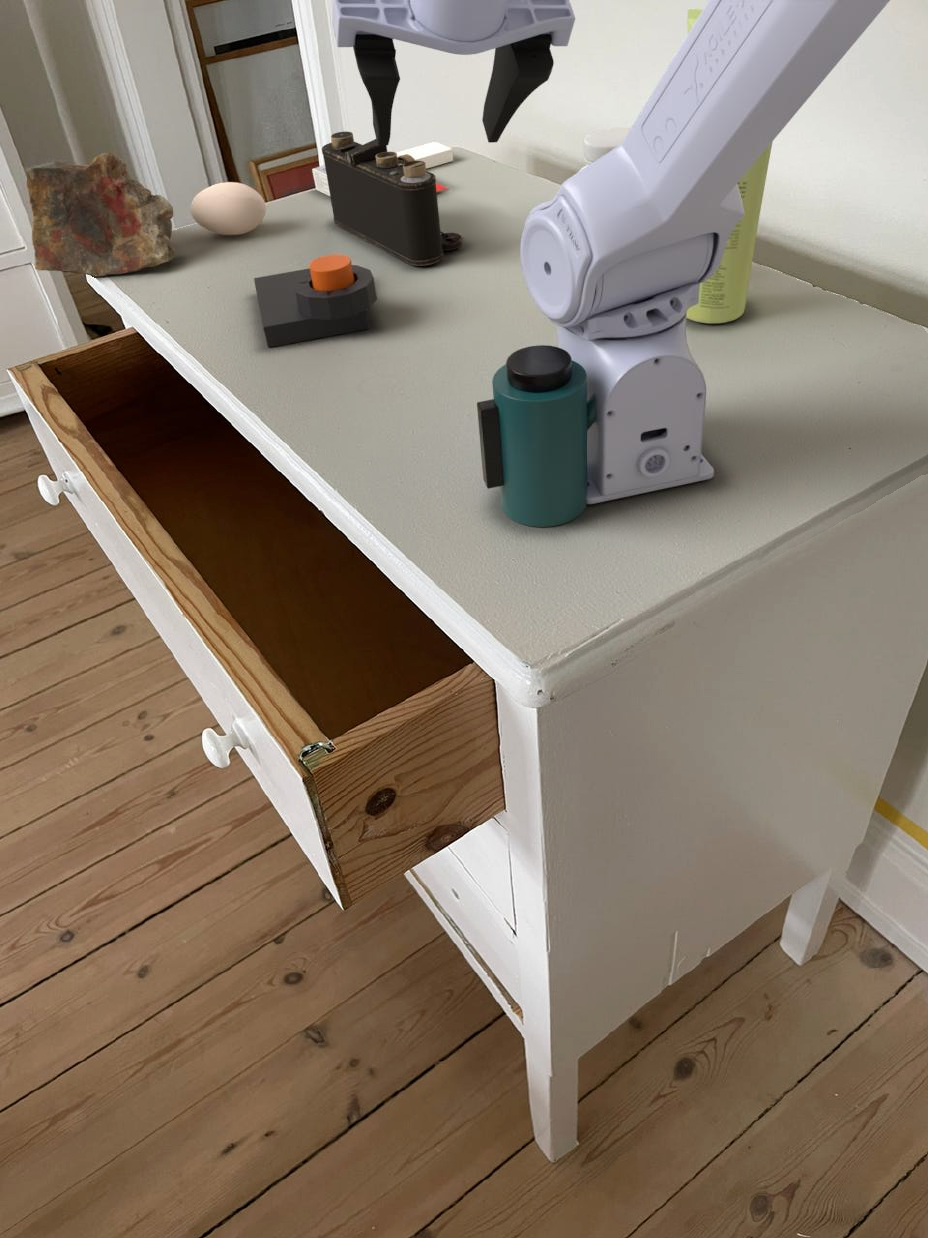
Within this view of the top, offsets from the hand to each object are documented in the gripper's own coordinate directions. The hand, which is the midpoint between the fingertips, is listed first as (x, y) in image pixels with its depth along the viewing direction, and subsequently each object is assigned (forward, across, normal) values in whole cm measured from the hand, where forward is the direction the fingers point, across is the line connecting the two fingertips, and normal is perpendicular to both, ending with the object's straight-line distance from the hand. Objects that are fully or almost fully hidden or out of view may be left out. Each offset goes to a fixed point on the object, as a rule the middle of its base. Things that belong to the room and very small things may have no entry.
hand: (436, 132), depth 66 cm
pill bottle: (+11, -15, +5) cm, 20 cm away
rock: (+29, +21, -17) cm, 40 cm away
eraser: (+32, -10, -30) cm, 46 cm away
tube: (+7, -20, +12) cm, 24 cm away
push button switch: (+16, +8, +1) cm, 19 cm away
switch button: (+12, +7, +2) cm, 14 cm away
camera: (+22, -2, -11) cm, 24 cm away
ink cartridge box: (+27, +2, -21) cm, 35 cm away
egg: (+24, +10, -17) cm, 32 cm away
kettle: (0, -1, +29) cm, 29 cm away
